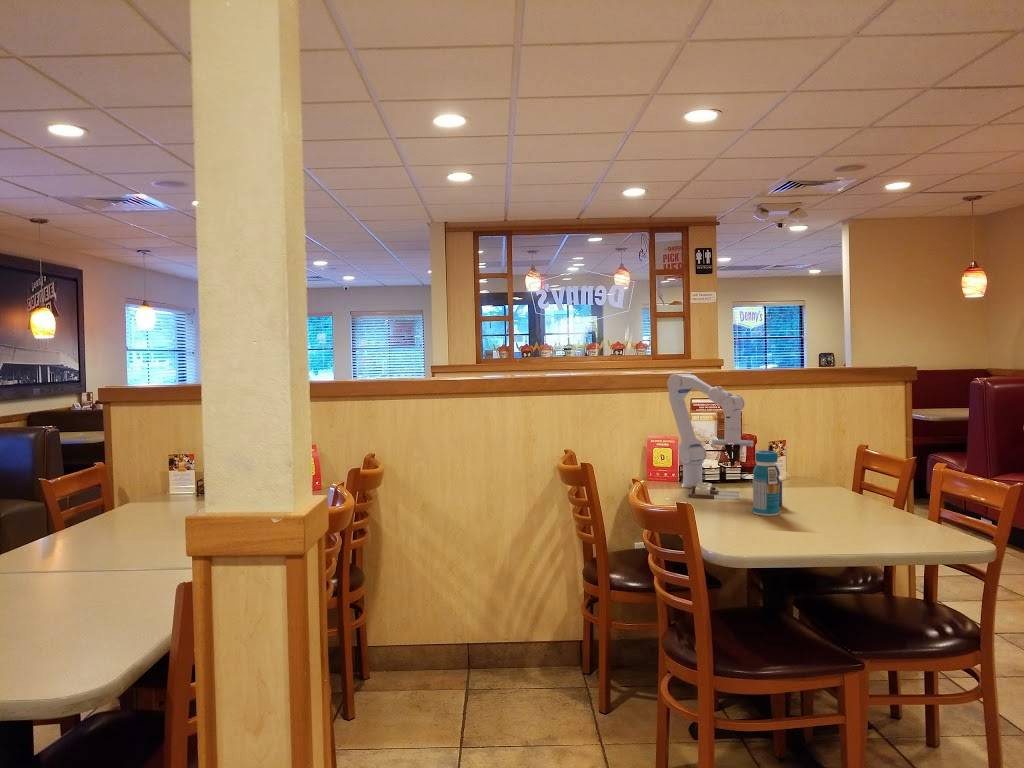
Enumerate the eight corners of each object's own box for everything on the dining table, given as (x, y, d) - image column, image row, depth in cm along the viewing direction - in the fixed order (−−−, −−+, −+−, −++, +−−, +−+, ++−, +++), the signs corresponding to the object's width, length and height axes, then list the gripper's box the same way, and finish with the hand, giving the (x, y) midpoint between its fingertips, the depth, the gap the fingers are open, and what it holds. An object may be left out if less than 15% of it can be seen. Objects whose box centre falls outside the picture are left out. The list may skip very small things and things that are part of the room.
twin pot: (697, 490, 285) (697, 481, 285) (711, 490, 283) (711, 482, 283) (696, 492, 280) (696, 483, 280) (710, 493, 278) (710, 484, 278)
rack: (689, 489, 287) (689, 486, 287) (739, 492, 282) (739, 488, 282) (686, 498, 271) (686, 494, 271) (739, 500, 265) (739, 496, 265)
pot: (696, 494, 277) (696, 485, 277) (710, 494, 275) (710, 486, 275) (695, 496, 272) (695, 487, 272) (709, 497, 271) (709, 488, 271)
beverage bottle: (750, 515, 243) (750, 452, 242) (754, 510, 250) (755, 449, 249) (777, 517, 239) (778, 454, 238) (781, 512, 246) (782, 451, 245)
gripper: (711, 429, 276) (711, 466, 277) (753, 430, 272) (753, 467, 273) (712, 427, 283) (712, 463, 284) (753, 428, 279) (753, 464, 279)
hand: (732, 465), depth 279 cm, fingers closed
